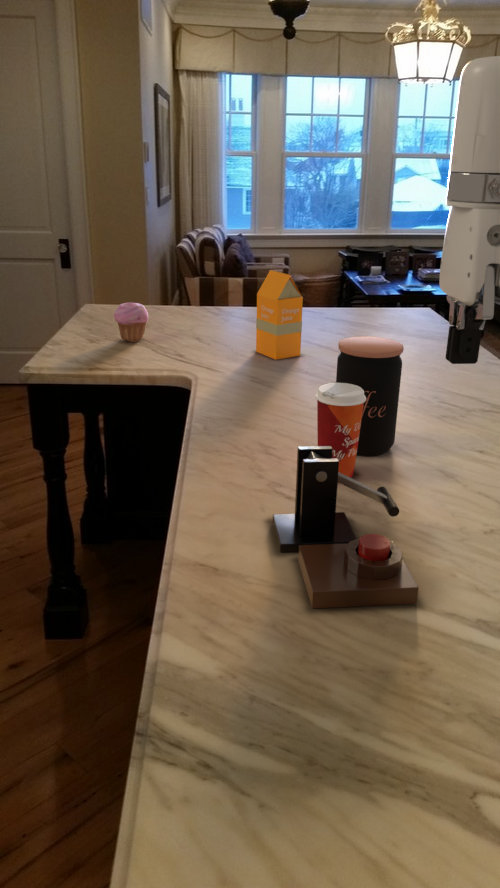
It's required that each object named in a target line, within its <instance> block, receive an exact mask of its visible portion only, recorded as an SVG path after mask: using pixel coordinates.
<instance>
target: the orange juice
mask: <svg viewBox="0 0 500 888" xmlns="http://www.w3.org/2000/svg"><path fill="white" fill-rule="evenodd" d="M303 299H304V297H303V296H302V294H301V292H300V291H299V288H298V287H297V284H296V283H295V281H294V279H293V278H292V275H291V274H287V273H283V272H281V271H275V270H273V269H270V270H269V271H268V273H267V275H266V277H265V278H264V280H263V282H262V284H261V286H260V288H259V290H258V291H257V293H256V319H255V320H256V321H255V325H256V327H255V329H256V330H255V333H256V339H255V352H256V353H259V354H261V355H264V356H266V357H268V358H270V359H273V360H275V361H277V360H282V359H288V358H289V359H290V358H293V357H300V356H301V350H302V333H303V332H302V330H303V302H304V300H303Z"/></svg>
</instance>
